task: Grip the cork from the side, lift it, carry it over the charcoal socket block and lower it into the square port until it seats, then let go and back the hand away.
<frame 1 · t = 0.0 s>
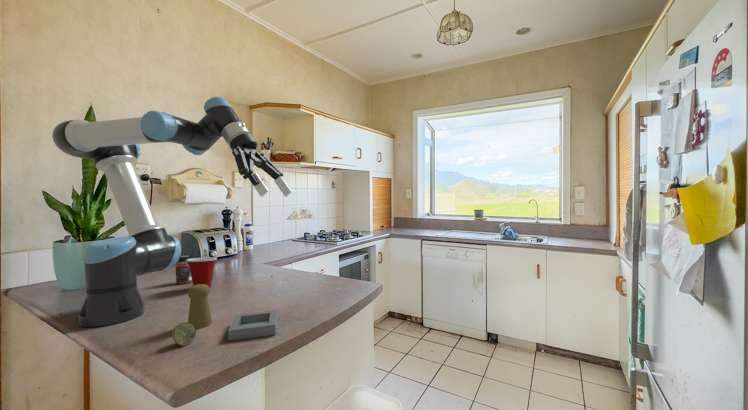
hand: (277, 194, 94), 36 cm above the countertop, tool tilted 35°, fingers open, 13 cm apart
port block: (254, 328, 82), on the countertop
plastic cup: (203, 288, 122), on the countertop
cork: (200, 325, 85), on the countertop
grey-green short cylinder: (183, 344, 74), on the countertop
supplement bottle: (184, 283, 131), on the countertop
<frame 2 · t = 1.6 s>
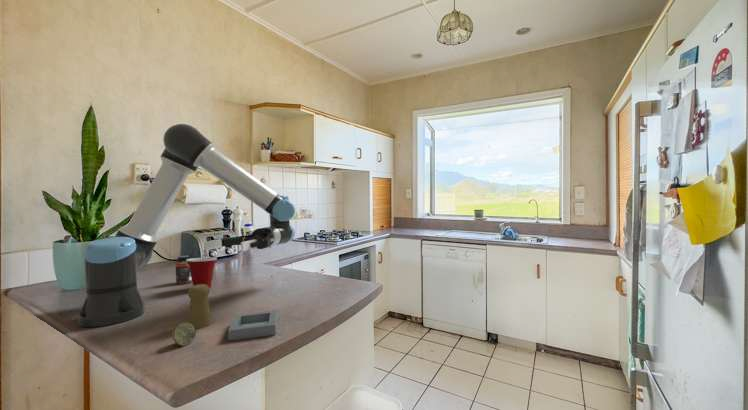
hand: (223, 246, 94), 20 cm above the countertop, tool horizontal, fingers open, 13 cm apart
nothing on the countertop moved.
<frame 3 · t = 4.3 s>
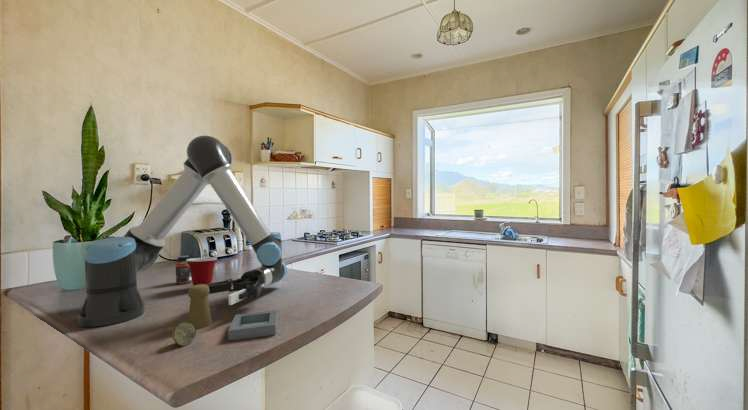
hand: (209, 298, 88), 6 cm above the countertop, tool horizontal, fingers open, 13 cm apart
nothing on the countertop moved.
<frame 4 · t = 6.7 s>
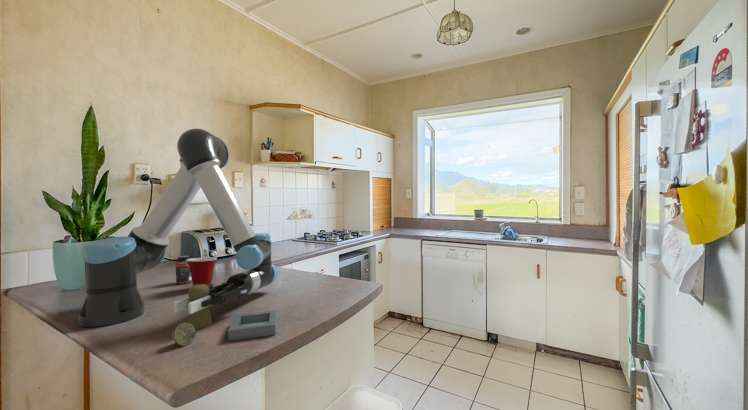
hand: (182, 307, 80), 7 cm above the countertop, tool horizontal, fingers closed on cork, 4 cm apart
cork: (200, 325, 85), on the countertop, touching gripper
everything else where it was.
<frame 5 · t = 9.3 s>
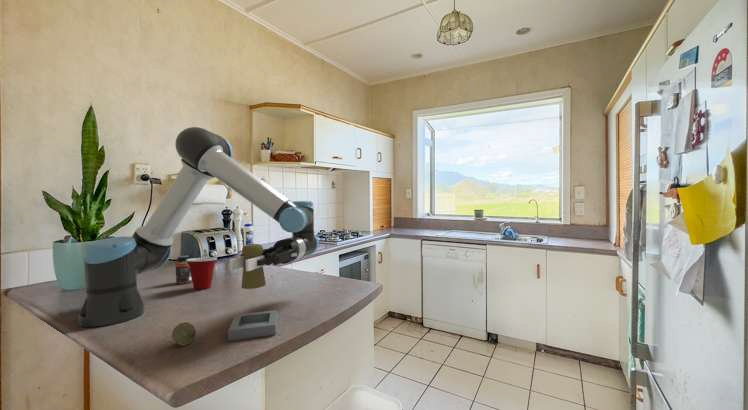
hand: (239, 265, 76), 18 cm above the countertop, tool horizontal, fingers closed on cork, 4 cm apart
cork: (253, 286, 82), point 11 cm above the countertop, touching gripper
everything else where it was.
when the fingers open (8 cm above the countertop, at t = 11.8 s): cork moves 1 cm, resting on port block.
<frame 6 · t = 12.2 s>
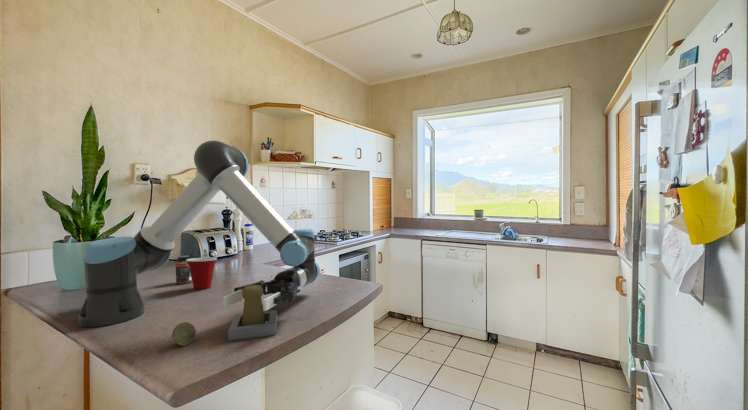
hand: (244, 303, 78), 8 cm above the countertop, tool horizontal, fingers open, 11 cm apart
cork: (253, 327, 82), resting on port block
everything else where it was.
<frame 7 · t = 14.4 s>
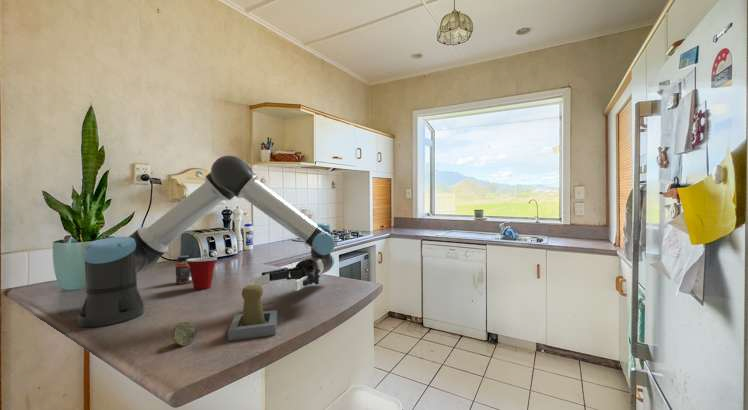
hand: (275, 284, 91), 9 cm above the countertop, tool horizontal, fingers open, 13 cm apart
nothing on the countertop moved.
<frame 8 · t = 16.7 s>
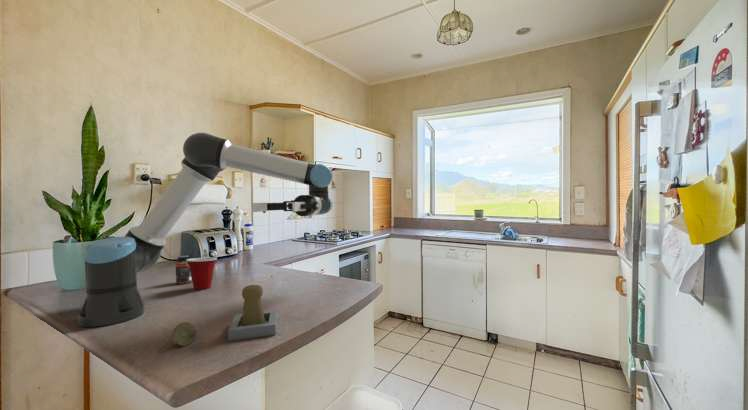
hand: (272, 207, 90), 32 cm above the countertop, tool horizontal, fingers open, 13 cm apart
nothing on the countertop moved.
at the end: cork 0.8 cm off-centre in the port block, point 0.1 cm above the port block's base; cork tilted 0°; the gripper is holding nothing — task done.
